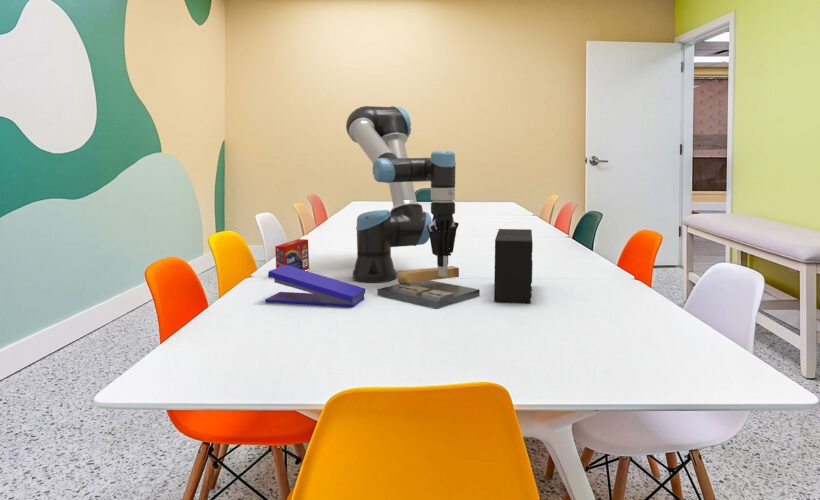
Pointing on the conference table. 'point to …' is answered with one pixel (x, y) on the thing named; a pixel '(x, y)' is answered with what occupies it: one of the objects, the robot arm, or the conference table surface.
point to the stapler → (314, 289)
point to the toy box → (293, 254)
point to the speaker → (513, 265)
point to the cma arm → (425, 274)
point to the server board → (429, 293)
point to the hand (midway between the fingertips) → (442, 276)
